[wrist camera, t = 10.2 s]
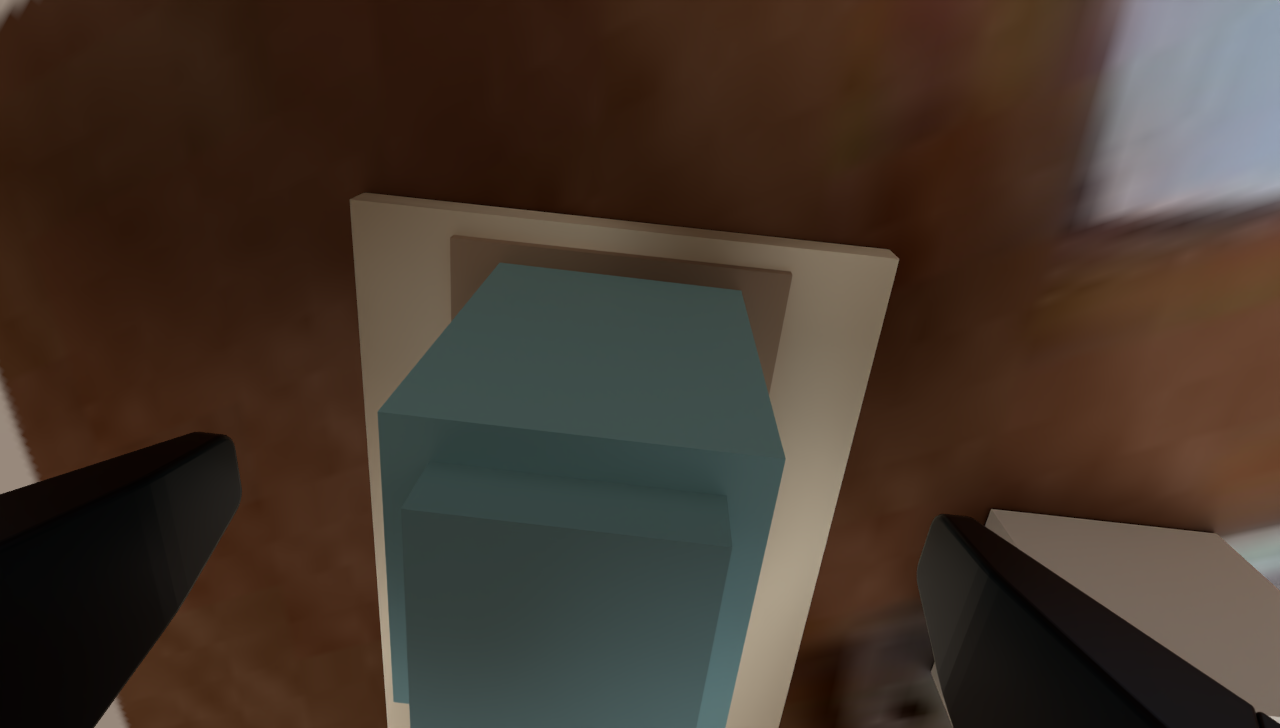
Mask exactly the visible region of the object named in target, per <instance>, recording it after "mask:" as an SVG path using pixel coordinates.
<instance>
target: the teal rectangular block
mask: <svg viewBox="0 0 1280 728" xmlns="http://www.w3.org/2000/svg"><path fill="white" fill-rule="evenodd" d="M378 430H379V449H380V467H381V485H382V503H383V521H384V539H385V557H386V575H387V593H388V611H389V629H390V647H391V666H392V684H393V702H397V703H405V704H409V710H410V728H725V727H726V723H727V719H728V714H729V710H730V705H731V701H732V696H733V692H734V687H735V683H736V678H737V674H738V670H739V665H740V661H741V656H742V652H743V647H744V643H745V638H746V634H747V629H748V625H749V621H750V616H751V612H752V607H753V603H754V598H755V594H756V589H757V585H758V580H759V576H760V572H761V567H762V563H763V558H764V554H765V549H766V545H767V540H768V536H769V531H770V527H771V523H772V518H773V514H774V509H775V505H776V500H777V496H778V491H779V487H780V482H781V478H782V474H783V469H784V465H785V460H786V458H785V454H784V451H783V447H782V443H781V439H780V435H779V432H778V428H777V424H776V420H775V416H774V413H773V409H772V405H771V401H770V398H769V394H768V390H767V386H766V382H765V379H764V375H763V371H762V367H761V363H760V360H759V356H758V352H757V348H756V344H755V341H754V337H753V333H752V329H751V326H750V322H749V318H748V314H747V310H746V307H745V303H744V299H743V295H742V291H740V290H732V289H723V288H715V287H706V286H697V285H689V284H680V283H672V282H663V281H654V280H646V279H637V278H629V277H620V276H611V275H603V274H594V273H586V272H577V271H568V270H560V269H551V268H543V267H534V266H525V265H517V264H508V263H499V264H498V265H497V266H496V268H495V269H494V270H493V271H492V272H491V274H490V275H489V276H488V277H487V279H486V280H485V281H484V282H483V283H482V285H481V286H480V287H479V288H478V290H477V291H476V292H475V293H474V294H473V296H472V297H471V298H470V299H469V301H468V302H467V303H466V304H465V305H464V307H463V308H462V309H461V310H460V312H459V313H458V314H457V315H456V316H455V318H454V319H453V320H452V321H451V323H450V324H449V325H448V326H447V327H446V329H445V330H444V331H443V332H442V333H441V335H440V336H439V337H438V338H437V340H436V341H435V342H434V343H433V344H432V346H431V347H430V348H429V349H428V351H427V352H426V353H425V354H424V355H423V357H422V358H421V359H420V360H419V362H418V363H417V364H416V365H415V366H414V368H413V369H412V370H411V371H410V373H409V374H408V375H407V376H406V377H405V379H404V380H403V381H402V382H401V384H400V385H399V386H398V387H397V388H396V390H395V391H394V392H393V393H392V395H391V396H390V397H389V398H388V399H387V401H386V402H385V403H384V404H383V405H382V407H381V408H380V409H379V410H378Z"/></svg>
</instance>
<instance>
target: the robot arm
mask: <svg viewBox="0 0 1280 728" xmlns="http://www.w3.org/2000/svg"><path fill="white" fill-rule="evenodd" d="M241 495H242V487H241V481H240V475H239V468H238V462H237V456H236V450H235V446H234V443H233V441H232V439H231V438H230V437H228V436H227V435H223V434H214V433H205V432H193V433H189V434H186V435H183V436H180V437H177V438H174V439H171V440H168V441H165V442H161V443H158V444H155V445H152V446H149V447H146V448H143V449H140V450H137V451H134V452H130V453H127V454H124V455H121V456H118V457H115V458H112V459H109V460H106V461H103V462H99V463H96V464H93V465H90V466H87V467H84V468H81V469H78V470H75V471H72V472H68V473H65V474H62V475H59V476H56V477H53V478H50V479H47V480H44V481H41V482H37V483H34V484H31V485H28V486H25V487H22V488H19V489H16V490H13V491H9V492H6V493H3V494H0V728H94V727H95V726H96V724H97V723H98V721H99V720H100V719H101V717H102V716H103V715H104V713H105V712H106V710H107V709H108V707H109V706H110V705H111V703H112V702H113V701H114V699H115V698H116V697H117V695H118V694H119V693H120V691H121V690H122V688H123V687H124V686H125V684H126V683H127V681H128V680H129V679H130V677H131V676H132V675H133V673H134V672H135V670H136V669H137V668H138V666H139V665H140V663H141V662H142V661H143V659H144V658H145V657H146V655H147V654H148V652H149V651H150V650H151V648H152V647H153V646H154V644H155V643H156V641H157V640H158V639H159V637H160V636H161V634H162V633H163V632H164V630H165V629H166V628H167V626H168V625H169V623H170V622H171V620H172V619H173V617H174V616H175V614H176V613H177V611H178V610H179V608H180V607H181V605H182V604H183V602H184V600H185V599H186V597H187V596H188V594H189V592H190V591H191V589H192V587H193V585H194V584H195V582H196V580H197V578H198V577H199V575H200V573H201V572H202V570H203V568H204V566H205V565H206V563H207V561H208V559H209V558H210V556H211V554H212V552H213V551H214V549H215V547H216V546H217V544H218V542H219V540H220V539H221V537H222V535H223V533H224V532H225V530H226V528H227V527H228V525H229V523H230V521H231V520H232V518H233V516H234V514H235V513H236V511H237V509H238V507H239V504H240V501H241ZM917 584H918V589H919V593H920V598H921V602H922V607H923V611H924V616H925V620H926V625H927V629H928V634H929V638H930V643H931V647H932V652H933V656H934V661H935V665H936V670H937V674H938V678H939V682H940V686H941V690H942V694H943V697H944V701H945V704H946V707H947V710H948V713H949V716H950V719H951V722H952V725H953V728H1280V723H1278V722H1277V721H1275V720H1274V719H1272V718H1271V717H1269V716H1268V715H1266V714H1265V713H1263V712H1255V708H1254V707H1253V706H1252V705H1251V704H1249V703H1248V702H1246V701H1245V700H1244V699H1242V698H1241V697H1239V696H1238V695H1236V694H1235V693H1233V692H1232V691H1230V690H1229V689H1227V688H1226V687H1224V686H1223V685H1221V684H1220V683H1218V682H1217V681H1215V680H1214V679H1212V678H1211V677H1209V676H1208V675H1206V674H1205V673H1203V672H1202V671H1200V670H1199V669H1197V668H1196V667H1194V666H1193V665H1191V664H1190V663H1188V662H1187V661H1185V660H1184V659H1182V658H1181V657H1179V656H1178V655H1176V654H1175V653H1173V652H1172V651H1170V650H1169V649H1167V648H1166V647H1164V646H1163V645H1161V644H1160V643H1158V642H1157V641H1155V640H1154V639H1152V638H1151V637H1149V636H1148V635H1146V634H1145V633H1143V632H1142V631H1140V630H1139V629H1137V628H1136V627H1135V626H1133V625H1132V624H1130V623H1129V622H1127V621H1126V620H1124V619H1123V618H1121V617H1120V616H1118V615H1117V614H1115V613H1114V612H1112V611H1111V610H1109V609H1108V608H1106V607H1105V606H1103V605H1102V604H1100V603H1099V602H1097V601H1096V600H1094V599H1093V598H1091V597H1090V596H1088V595H1087V594H1085V593H1084V592H1082V591H1081V590H1079V589H1078V588H1076V587H1075V586H1073V585H1072V584H1070V583H1069V582H1067V581H1066V580H1064V579H1063V578H1061V577H1060V576H1058V575H1057V574H1055V573H1054V572H1052V571H1051V570H1049V569H1048V568H1046V567H1045V566H1044V565H1042V564H1041V563H1039V562H1038V561H1036V560H1035V559H1033V558H1032V557H1030V556H1029V555H1027V554H1026V553H1024V552H1023V551H1021V550H1020V549H1018V548H1017V547H1015V546H1014V545H1012V544H1011V543H1009V542H1008V541H1006V540H1005V539H1003V538H1002V537H1000V536H999V535H997V534H996V533H994V532H993V531H991V530H990V529H988V528H987V527H985V526H984V525H982V524H981V523H979V522H978V521H976V520H975V519H973V518H971V517H968V516H959V515H950V514H940V515H938V516H936V517H935V518H934V520H933V521H932V524H931V526H930V529H929V532H928V535H927V538H926V541H925V544H924V547H923V550H922V553H921V556H920V559H919V563H918V567H917Z"/></svg>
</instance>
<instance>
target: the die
mask: <svg viewBox="0 0 1280 728" xmlns="http://www.w3.org/2000/svg"><path fill="white" fill-rule="evenodd" d="M985 527H987V528H988V529H990V530H991V531H993V532H994V533H996V534H997V535H999V536H1000V537H1002V538H1003V539H1005V540H1006V541H1008V542H1009V543H1011V544H1012V545H1014V546H1015V547H1017V548H1018V549H1020V550H1021V551H1023V552H1024V553H1026V554H1027V555H1029V556H1030V557H1032V558H1033V559H1035V560H1036V561H1038V562H1039V563H1041V564H1042V565H1044V566H1045V567H1046V568H1048V569H1049V570H1051V571H1052V572H1054V573H1055V574H1057V575H1058V576H1060V577H1061V578H1063V579H1064V580H1066V581H1067V582H1069V583H1070V584H1072V585H1073V586H1075V587H1076V588H1078V589H1079V590H1081V591H1082V592H1084V593H1085V594H1087V595H1088V596H1090V597H1091V598H1093V599H1094V600H1096V601H1097V602H1099V603H1100V604H1102V605H1103V606H1105V607H1106V608H1108V609H1109V610H1111V611H1112V612H1114V613H1115V614H1117V615H1118V616H1120V617H1121V618H1123V619H1124V620H1126V621H1127V622H1129V623H1130V624H1132V625H1133V626H1135V627H1136V628H1137V629H1139V630H1140V631H1142V632H1143V633H1145V634H1146V635H1148V636H1149V637H1151V638H1152V639H1154V640H1155V641H1157V642H1158V643H1160V644H1161V645H1163V646H1164V647H1166V648H1167V649H1169V650H1170V651H1172V652H1173V653H1175V654H1176V655H1178V656H1179V657H1181V658H1182V659H1184V660H1185V661H1187V662H1188V663H1190V664H1191V665H1193V666H1194V667H1196V668H1197V669H1199V670H1200V671H1202V672H1203V673H1205V674H1206V675H1208V676H1209V677H1211V678H1212V679H1214V680H1215V681H1217V682H1218V683H1220V684H1221V685H1223V686H1224V687H1226V688H1227V689H1229V690H1230V691H1232V692H1233V693H1235V694H1236V695H1238V696H1239V697H1241V698H1242V699H1244V700H1245V701H1246V702H1248V703H1249V704H1251V705H1252V706H1253V707H1254V708H1255V712H1263V713H1265V714H1266V715H1268V716H1269V717H1271V718H1272V719H1274V720H1275V721H1277V722H1278V723H1280V591H1279V590H1278V589H1277V588H1276V587H1275V586H1274V585H1273V584H1272V583H1271V582H1269V581H1268V580H1267V579H1266V578H1265V577H1264V576H1263V575H1262V574H1261V573H1259V572H1258V571H1257V570H1256V569H1255V568H1254V567H1253V566H1252V565H1251V564H1250V563H1248V562H1247V561H1246V560H1245V559H1244V558H1243V557H1242V556H1241V555H1240V554H1238V553H1237V552H1236V551H1235V550H1234V549H1233V548H1232V547H1231V546H1230V545H1228V544H1227V543H1226V542H1225V541H1224V540H1223V539H1222V538H1221V537H1220V536H1219V535H1217V534H1216V533H1207V532H1198V531H1188V530H1179V529H1170V528H1161V527H1152V526H1143V525H1134V524H1125V523H1115V522H1106V521H1097V520H1088V519H1079V518H1070V517H1061V516H1052V515H1043V514H1033V513H1024V512H1015V511H1006V510H997V509H991V511H990V513H989V516H988V519H987V521H986V524H985ZM931 675H932V677H933V680H934V682H935V685H936V687H937V690H938V692H939V695H940V697H941V699H942V702H943V704H944V707H945V709H946V712H947V714H948V717H949V719H950V716H949V713H948V710H947V707H946V704H945V701H944V697H943V694H942V690H941V686H940V682H939V678H938V674H937V670H936V665H935V662H934V665H933V668H932V670H931ZM950 722H951V719H950ZM951 724H952V722H951ZM952 727H953V725H952Z"/></svg>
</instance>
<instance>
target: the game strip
mask: <svg viewBox="0 0 1280 728" xmlns="http://www.w3.org/2000/svg"><path fill="white" fill-rule="evenodd" d="M350 212H351V226H352V239H353V253H354V267H355V281H356V295H357V309H358V322H359V336H360V350H361V364H362V378H363V392H364V405H365V419H366V433H367V447H368V461H369V475H370V488H371V502H372V516H373V530H374V544H375V558H376V571H377V585H378V599H379V613H380V627H381V641H382V654H383V668H384V682H385V696H386V710H387V724H388V728H410V710H409V704H405V703H397V702H393V684H392V666H391V647H390V629H389V611H388V593H387V575H386V557H385V539H384V521H383V503H382V485H381V467H380V449H379V430H378V410H379V409H380V408H381V407H382V405H383V404H384V403H385V402H386V401H387V399H388V398H389V397H390V396H391V395H392V393H393V392H394V391H395V390H396V388H397V387H398V386H399V385H400V384H401V382H402V381H403V380H404V379H405V377H406V376H407V375H408V374H409V373H410V371H411V370H412V369H413V368H414V366H415V365H416V364H417V363H418V362H419V360H420V359H421V358H422V357H423V355H424V354H425V353H426V352H427V351H428V349H429V348H430V347H431V346H432V344H433V343H434V342H435V341H436V340H437V338H438V337H439V336H440V335H441V333H442V332H443V331H444V330H445V329H446V327H447V326H448V325H449V324H450V323H451V321H452V320H453V319H454V318H455V316H456V315H457V314H458V313H459V312H460V310H461V309H462V308H463V307H464V305H465V304H466V303H467V302H468V301H469V299H470V298H471V297H472V296H473V294H474V293H475V292H476V291H477V290H478V288H479V287H480V286H481V285H482V283H483V282H484V281H485V280H486V279H487V277H488V276H489V275H490V274H491V272H492V271H493V270H494V269H495V268H496V266H497V265H498V264H499V263H508V264H517V265H525V266H534V267H543V268H551V269H560V270H568V271H577V272H586V273H594V274H603V275H611V276H620V277H629V278H637V279H646V280H654V281H663V282H672V283H680V284H689V285H697V286H706V287H715V288H723V289H732V290H740V291H742V295H743V299H744V303H745V307H746V310H747V314H748V318H749V322H750V326H751V329H752V333H753V337H754V341H755V344H756V348H757V352H758V356H759V360H760V363H761V367H762V371H763V375H764V379H765V382H766V386H767V390H768V394H769V398H770V401H771V405H772V409H773V413H774V416H775V420H776V424H777V428H778V432H779V435H780V439H781V443H782V447H783V451H784V454H785V458H786V460H785V465H784V469H783V474H782V478H781V482H780V487H779V491H778V496H777V500H776V505H775V509H774V514H773V518H772V523H771V527H770V531H769V536H768V540H767V545H766V549H765V554H764V558H763V563H762V567H761V572H760V576H759V580H758V585H757V589H756V594H755V598H754V603H753V607H752V612H751V616H750V621H749V625H748V629H747V634H746V638H745V643H744V647H743V652H742V656H741V661H740V665H739V670H738V674H737V678H736V683H735V687H734V692H733V696H732V701H731V705H730V710H729V714H728V719H727V723H726V727H725V728H779V724H780V720H781V716H782V712H783V708H784V704H785V701H786V697H787V693H788V689H789V685H790V681H791V677H792V673H793V670H794V666H795V662H796V658H797V654H798V650H799V646H800V642H801V639H802V635H803V631H804V627H805V623H806V619H807V615H808V611H809V608H810V604H811V600H812V596H813V592H814V588H815V584H816V580H817V577H818V573H819V569H820V565H821V561H822V557H823V553H824V549H825V546H826V542H827V538H828V534H829V530H830V526H831V522H832V518H833V515H834V511H835V507H836V503H837V499H838V495H839V491H840V487H841V484H842V480H843V476H844V472H845V468H846V464H847V460H848V456H849V453H850V449H851V445H852V441H853V437H854V433H855V429H856V425H857V422H858V418H859V414H860V410H861V406H862V402H863V398H864V394H865V391H866V387H867V383H868V379H869V375H870V371H871V367H872V363H873V360H874V356H875V352H876V348H877V344H878V340H879V336H880V332H881V329H882V325H883V321H884V317H885V313H886V309H887V305H888V301H889V298H890V294H891V290H892V286H893V282H894V278H895V274H896V270H897V267H898V263H899V258H898V257H897V256H896V255H895V254H894V253H892V252H891V251H890V250H889V249H880V248H871V247H862V246H853V245H844V244H834V243H825V242H816V241H807V240H798V239H788V238H779V237H770V236H761V235H751V234H742V233H733V232H724V231H715V230H705V229H696V228H687V227H678V226H669V225H659V224H650V223H641V222H632V221H623V220H613V219H604V218H595V217H586V216H576V215H567V214H558V213H549V212H540V211H530V210H521V209H512V208H503V207H494V206H484V205H475V204H466V203H457V202H448V201H438V200H429V199H420V198H411V197H401V196H392V195H383V194H374V193H365V192H364V193H362V194H360V195H358V196H356V197H354V198H352V199H350Z"/></svg>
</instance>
